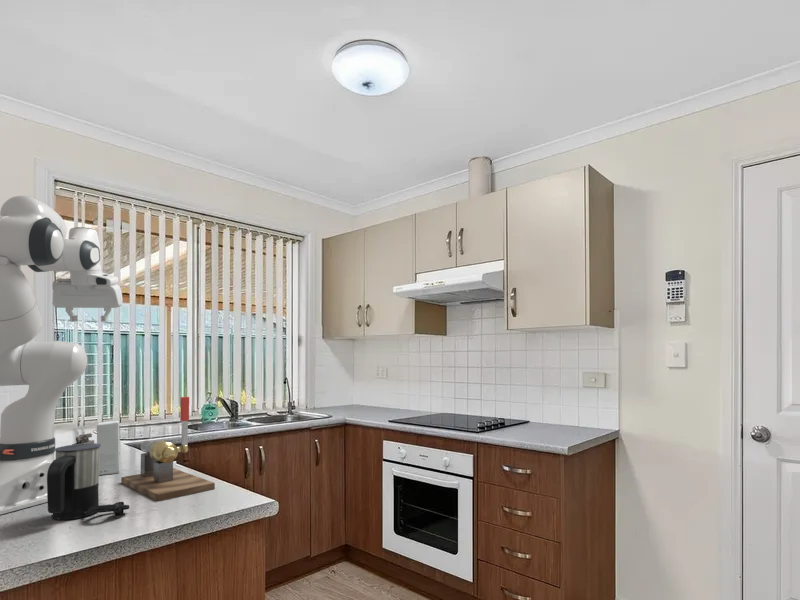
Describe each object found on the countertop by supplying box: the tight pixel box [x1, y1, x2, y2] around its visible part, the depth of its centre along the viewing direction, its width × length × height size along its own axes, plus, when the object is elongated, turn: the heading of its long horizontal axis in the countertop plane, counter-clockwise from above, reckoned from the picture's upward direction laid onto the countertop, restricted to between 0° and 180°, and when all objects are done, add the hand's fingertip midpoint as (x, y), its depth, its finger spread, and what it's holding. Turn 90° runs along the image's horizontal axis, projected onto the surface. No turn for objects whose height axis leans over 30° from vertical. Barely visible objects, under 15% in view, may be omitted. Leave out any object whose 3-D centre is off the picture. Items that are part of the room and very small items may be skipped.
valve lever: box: [179, 396, 190, 454], centre depth 146 cm, size 2×2×15 cm
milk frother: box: [47, 442, 130, 521], centre depth 118 cm, size 14×16×15 cm
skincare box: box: [96, 420, 121, 476], centre depth 161 cm, size 8×6×15 cm
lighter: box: [71, 432, 95, 445], centre depth 170 cm, size 8×3×10 cm, turn 171°
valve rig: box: [120, 440, 216, 502], centre depth 142 cm, size 27×14×12 cm, turn 44°
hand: (89, 321), depth 173 cm, fingers open, 8 cm apart
